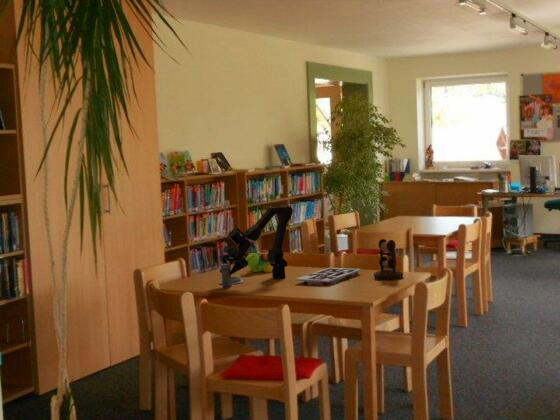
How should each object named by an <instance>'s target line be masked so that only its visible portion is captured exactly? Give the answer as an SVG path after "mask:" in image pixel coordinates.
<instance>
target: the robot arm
mask: <svg viewBox="0 0 560 420" xmlns="http://www.w3.org/2000/svg"><path fill="white" fill-rule="evenodd" d="M293 213H294V209H293V207H292V206H290V205H280V206H278V207H276V206H269V207H267V210H265V212H264V213H263V214H262V215H261V217H260V218H259V219H258V220H257V221H256V222H255V224H254V225H251V226H250V227H248V228H247V229H246V230H245V231H244V232H242V231H241V229H240V228H239V227H235V228H234V229H232V230H231V231H230V232H229V233H228V234H227V236H228V238H229V239H230V240H231V241H232V242H233V243H234V244H235V245H231V246H229V245H224V248H223V249H222V250H223V251H222V252H223V253H224V254H221V256H220V258H219V259H220V261H221V264H231V265H232V264H233V263H234V264H233V266H232V267H231V271H230V273H229V274H230V275H231V276H232V275H233V274H235V273H237V272H238V271H240V270H243V269H245V268H247V267H248V261H247V260H246V258H245V257H246V256H247V253H248V251H249V249H255V243H254V242H256V241H258V239H259V238H260V236H261V235H262V231H263V229H264V228H265V227H266V226H267V225H268V224H269V223H270V222H271V220H272V219H273V218H274V216H275V215H276V217H277V227H276V232H275V236H274V241H273V246H272V248H271V249H267V251H268V255H267V257H268V261H269V263H270V265H271V266H273V269H272V272H271V273H272V275H271V276H272V278H273V280H275V279H285V278H287V276H286V267H288V262H287V260H286V259H284V251H283V247H284V241H285V237H286V236H285V235H286V230H287V226H288V222H289V221H290V220H291V218H292V216H293ZM252 241H253V242H252ZM236 245H237V246H236ZM225 253H226V254H225ZM219 273H220V274H222V273H221V268H220V270H219Z"/></svg>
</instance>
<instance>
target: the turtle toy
mask: <svg viewBox="0 0 560 420" xmlns="http://www.w3.org/2000/svg"><path fill="white" fill-rule="evenodd" d="M267 255H268V249H267V250H266V249H262V250H260V252H257V253H255V252H250V253H249V254H248V255H247V257H246V258H245V259H246V260H247V261H248V266H247V267H248V268H247V269H248V271H250V272H265V273H267V274H268V273H272V269H273V266H271V265H270V263H269V261H268V257H267Z"/></svg>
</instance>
